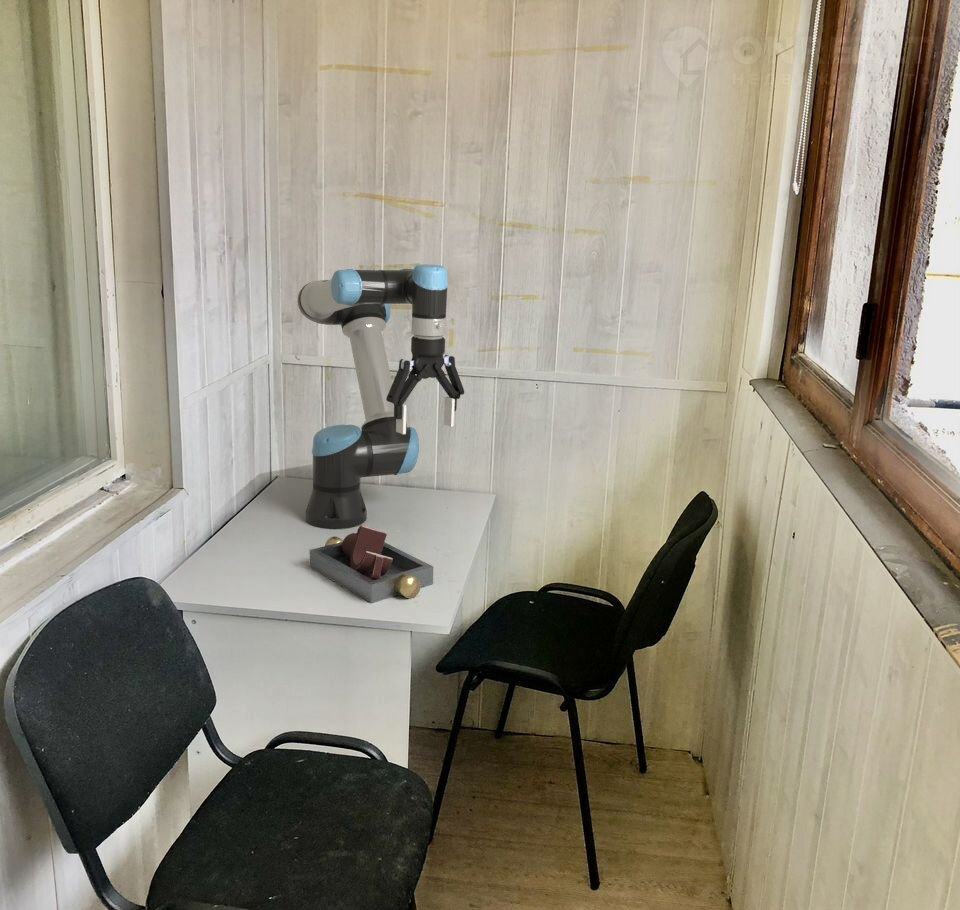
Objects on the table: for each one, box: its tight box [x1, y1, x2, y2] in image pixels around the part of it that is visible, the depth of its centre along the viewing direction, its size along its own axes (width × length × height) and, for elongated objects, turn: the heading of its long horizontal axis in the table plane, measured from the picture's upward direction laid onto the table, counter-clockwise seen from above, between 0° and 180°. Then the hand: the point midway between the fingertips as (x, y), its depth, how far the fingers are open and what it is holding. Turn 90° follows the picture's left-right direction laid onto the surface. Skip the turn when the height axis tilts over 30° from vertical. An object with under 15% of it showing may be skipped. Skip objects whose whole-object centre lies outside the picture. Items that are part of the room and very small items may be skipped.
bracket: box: [342, 524, 392, 580], centre depth 197 cm, size 6×17×10 cm, turn 28°
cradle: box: [309, 536, 434, 604], centre depth 198 cm, size 29×16×4 cm, turn 42°
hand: (425, 429), depth 209 cm, fingers open, 13 cm apart
